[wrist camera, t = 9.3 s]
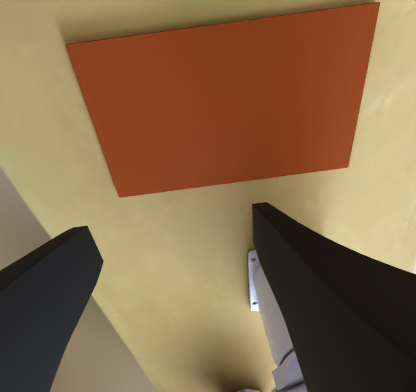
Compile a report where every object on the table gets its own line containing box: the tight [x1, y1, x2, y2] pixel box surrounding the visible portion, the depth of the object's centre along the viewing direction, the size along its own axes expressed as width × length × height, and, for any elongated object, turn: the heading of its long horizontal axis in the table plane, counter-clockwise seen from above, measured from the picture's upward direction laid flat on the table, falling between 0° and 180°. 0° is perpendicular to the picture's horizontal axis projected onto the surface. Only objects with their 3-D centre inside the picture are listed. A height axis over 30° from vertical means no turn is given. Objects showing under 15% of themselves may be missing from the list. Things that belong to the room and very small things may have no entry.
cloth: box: [66, 2, 380, 198], centre depth 16 cm, size 11×20×1 cm, turn 97°
